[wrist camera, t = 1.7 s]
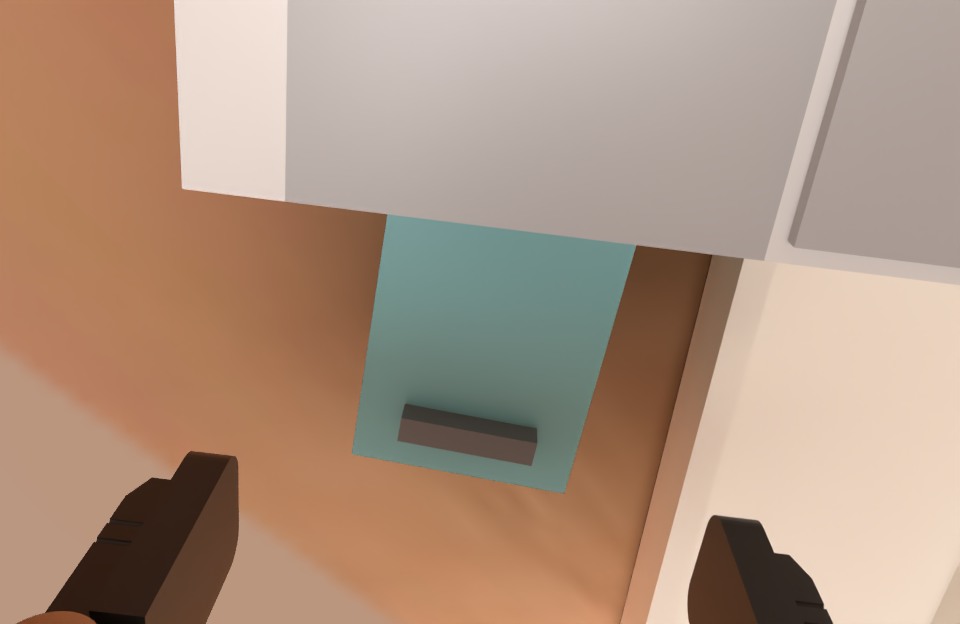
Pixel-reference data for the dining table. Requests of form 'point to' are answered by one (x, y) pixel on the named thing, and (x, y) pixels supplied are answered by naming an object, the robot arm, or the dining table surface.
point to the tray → (816, 441)
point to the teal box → (486, 349)
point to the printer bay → (595, 119)
